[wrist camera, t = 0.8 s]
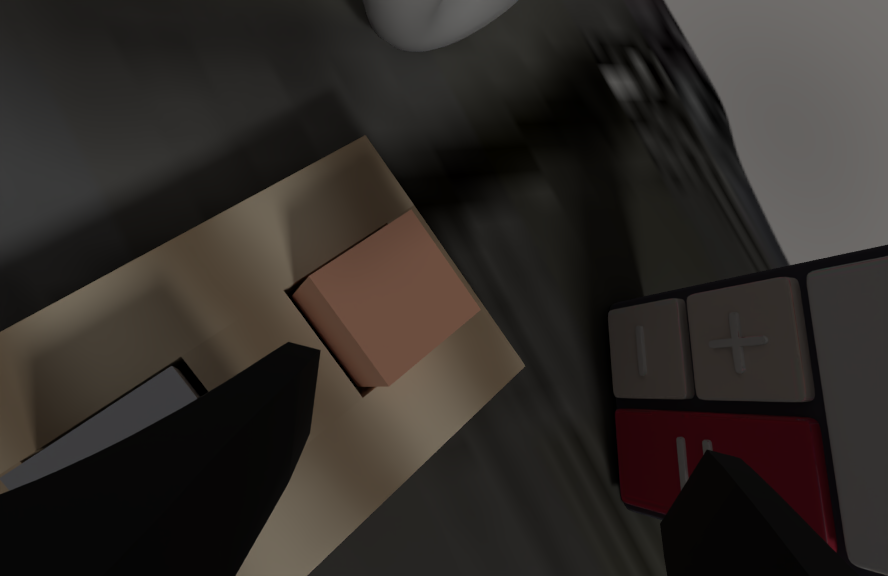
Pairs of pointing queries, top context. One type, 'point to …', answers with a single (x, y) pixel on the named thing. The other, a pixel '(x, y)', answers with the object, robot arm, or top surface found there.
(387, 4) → the donut
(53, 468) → the gray cube
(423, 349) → the brown cube
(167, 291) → the tan flat rectangular block
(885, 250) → the grey and red box
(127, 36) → the top surface
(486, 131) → the top surface
